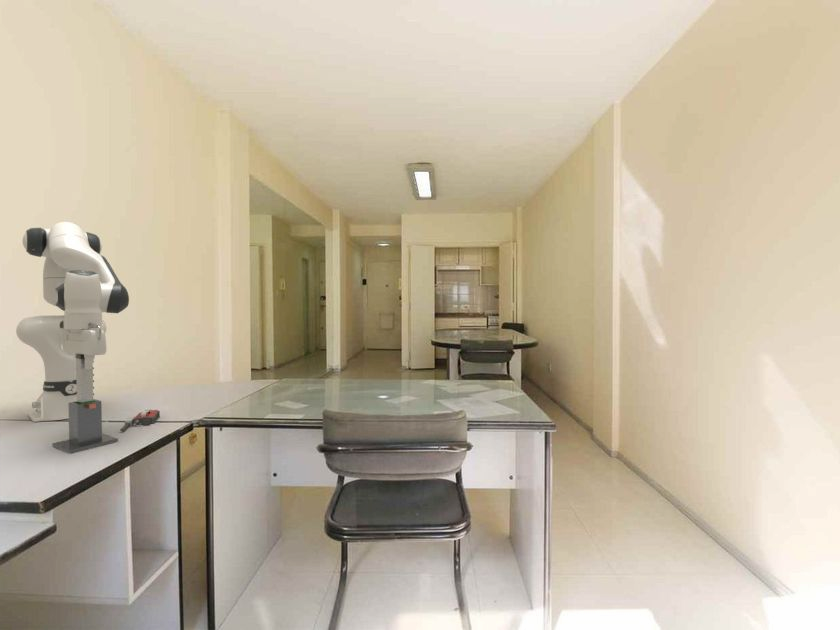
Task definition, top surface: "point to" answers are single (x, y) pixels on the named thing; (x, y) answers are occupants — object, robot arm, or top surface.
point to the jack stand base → (84, 428)
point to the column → (84, 381)
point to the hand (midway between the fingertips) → (84, 368)
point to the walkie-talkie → (142, 418)
